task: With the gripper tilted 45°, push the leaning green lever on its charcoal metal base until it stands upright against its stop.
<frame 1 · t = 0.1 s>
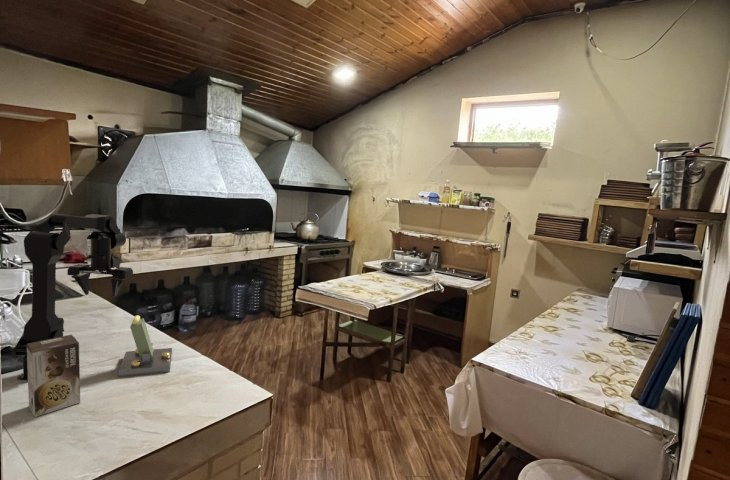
hand: (100, 295, 134), 15 cm above the counter, tool pointing down, fingers open, 9 cm apart
coffee box: (54, 405, 95), on the counter
instrument base: (147, 364, 118), on the counter
green lever: (141, 337, 116), point 9 cm above the counter, hinge at -15.0°
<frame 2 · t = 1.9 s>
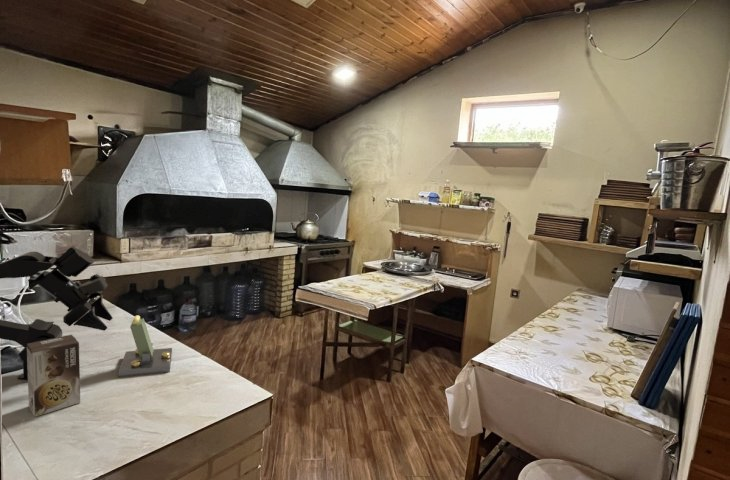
hand: (108, 324, 113), 13 cm above the counter, tool tilted 45°, fingers open, 8 cm apart
nothing on the counter moved.
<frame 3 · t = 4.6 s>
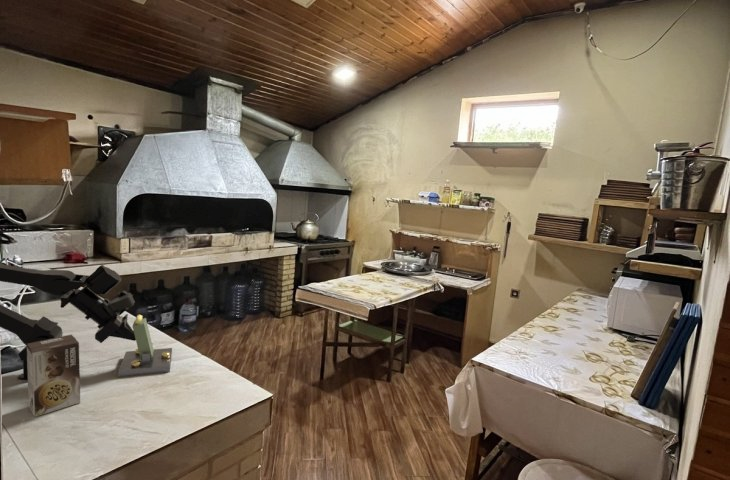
hand: (136, 339, 116), 8 cm above the counter, tool tilted 45°, fingers closed, pressing on green lever
green lever: (143, 337, 117), point 9 cm above the counter, hinge at -11.9°, touching gripper
everything else where it was.
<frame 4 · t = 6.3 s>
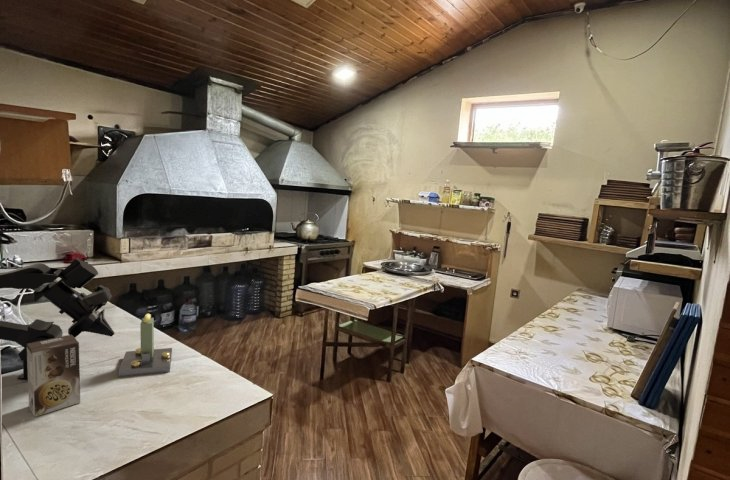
hand: (113, 334, 113), 10 cm above the counter, tool tilted 45°, fingers closed
green lever: (147, 336, 117), point 9 cm above the counter, hinge at -1.1°
everything else where it was.
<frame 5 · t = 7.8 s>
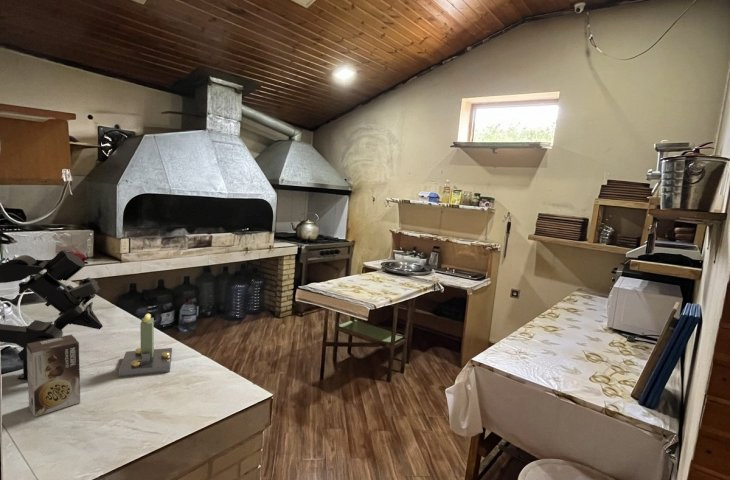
hand: (101, 327, 112), 13 cm above the counter, tool tilted 45°, fingers closed
nothing on the counter moved.
at the end: green lever at -1° (first picture: -15°); coffee box moved 0.2 cm from its start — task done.
